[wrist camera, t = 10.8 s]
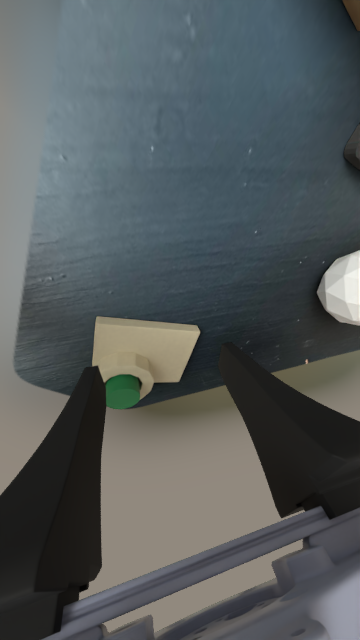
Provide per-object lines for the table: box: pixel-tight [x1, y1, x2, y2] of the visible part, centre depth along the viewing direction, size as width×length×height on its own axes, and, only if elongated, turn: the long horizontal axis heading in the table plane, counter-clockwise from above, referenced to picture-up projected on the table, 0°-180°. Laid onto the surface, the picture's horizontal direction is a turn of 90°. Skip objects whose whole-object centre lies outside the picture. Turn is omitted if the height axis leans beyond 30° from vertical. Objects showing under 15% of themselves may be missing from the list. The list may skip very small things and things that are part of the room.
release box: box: [92, 316, 200, 399], centre depth 21 cm, size 10×9×3 cm
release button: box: [106, 374, 140, 409], centre depth 19 cm, size 3×3×2 cm
